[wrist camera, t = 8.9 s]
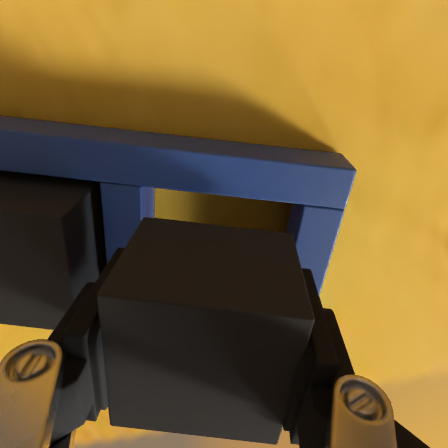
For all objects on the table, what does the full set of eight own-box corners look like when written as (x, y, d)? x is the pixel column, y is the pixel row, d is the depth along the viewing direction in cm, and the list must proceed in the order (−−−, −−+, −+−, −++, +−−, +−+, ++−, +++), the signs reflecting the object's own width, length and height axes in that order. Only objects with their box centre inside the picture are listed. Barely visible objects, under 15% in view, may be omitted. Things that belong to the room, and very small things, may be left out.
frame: (-71, 107, 13) (-121, 116, 11) (342, 153, 13) (357, 169, 11) (-16, 286, 17) (-46, 313, 15) (296, 321, 17) (302, 353, 15)
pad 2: (143, 216, 11) (95, 294, 7) (293, 233, 11) (316, 319, 7) (145, 326, 13) (109, 426, 10) (268, 340, 13) (277, 446, 10)
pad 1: (-11, 159, 14) (-100, 198, 10) (109, 173, 14) (61, 216, 10) (13, 259, 16) (-52, 318, 12) (115, 271, 16) (79, 333, 12)
